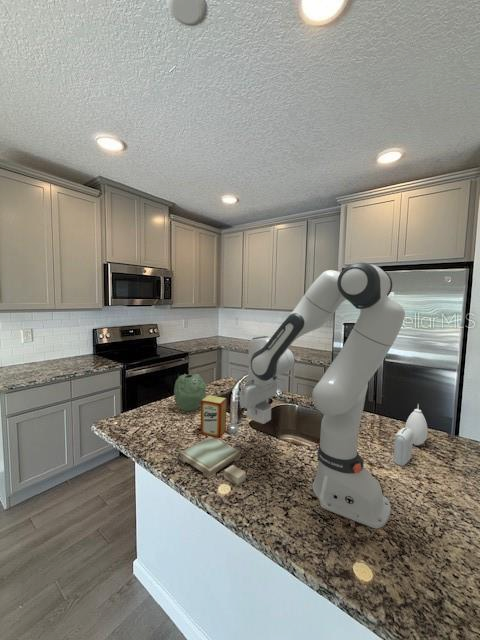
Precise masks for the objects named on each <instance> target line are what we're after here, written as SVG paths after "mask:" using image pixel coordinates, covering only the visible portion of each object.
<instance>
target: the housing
mask: <svg viewBox="0 0 480 640" xmlns="http://www.w3.org/2000/svg"><path fill="white" fill-rule="evenodd" d="M255 410H257V415H255V416H253V415H251V410H250V408H248V409H247V408H246V419H249V420H252V421H253V422H257V423H259V424H263V425H264V424H266V423H268V422H270V421H271V420H272V404H270V403H264V402H263V401H262V402H260V403H258V404H256V407H255Z"/></svg>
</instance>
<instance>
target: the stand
mask: <svg viewBox="0 0 480 640" xmlns="http://www.w3.org/2000/svg"><path fill="white" fill-rule="evenodd" d="M240 459H241V450H239V449H237V448H235V447H233V446H232V445H229V444H227V443H226V442H224V441H221V440H219V439H218V438H215V437H211V436H208V437H207V438H205V439H203V440H201V441H199V442H197V443H195V444H193V445H191V446H190V447H187V448H186V449H184V450H182V451H180V452H179V461H181V462H182V463H184V464H186V463H187V464H189V465H190V466H192V467H193V468H195V469H197V470H198V471H200V472H202V475H203V477H205V478H206V479H208V480H211V479H213V478H214V477H215V476H217V472H219V471H220V470H221V469H223V468H225V467H226V466H228V465H229V464H231V463H232V462H234V463H236V462H237V461H239V460H240Z"/></svg>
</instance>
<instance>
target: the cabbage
mask: <svg viewBox="0 0 480 640" xmlns="http://www.w3.org/2000/svg"><path fill="white" fill-rule="evenodd" d="M174 383H175V384H174V389H173V394H174V401H175V404H176V405H177V406H178V407H179V408H180V409H181V410H183V411H185V412H192V411H196V410H197V409H199V408H201V400H202V399H203V398H205V397H206V396H207V395H206V394H207V393H206V392H207V391H208V390H207V383H206V381H204V378H202V376H201V375H200V374H199V373H194V374H193V373H192V374H191V373H190V374H186V373H184V374H181V375H179V376H178V378H177V379H176V381H175V382H174Z"/></svg>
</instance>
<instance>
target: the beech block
mask: <svg viewBox="0 0 480 640" xmlns="http://www.w3.org/2000/svg"><path fill="white" fill-rule="evenodd" d="M246 474H247V473H246V471H245V470H242V469H240V468H239V467H237V466H236V465H233V464H232V465H230V466H229V467H227V468H226V469H224V474H223V475H224V479H225V480H226V481H228V482H230V483H231V484H234V485H235V486H237V487H239V486H240V485H241V484H243V483H244V482H245V481H246V480H247V479H246V476H247V475H246Z"/></svg>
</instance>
